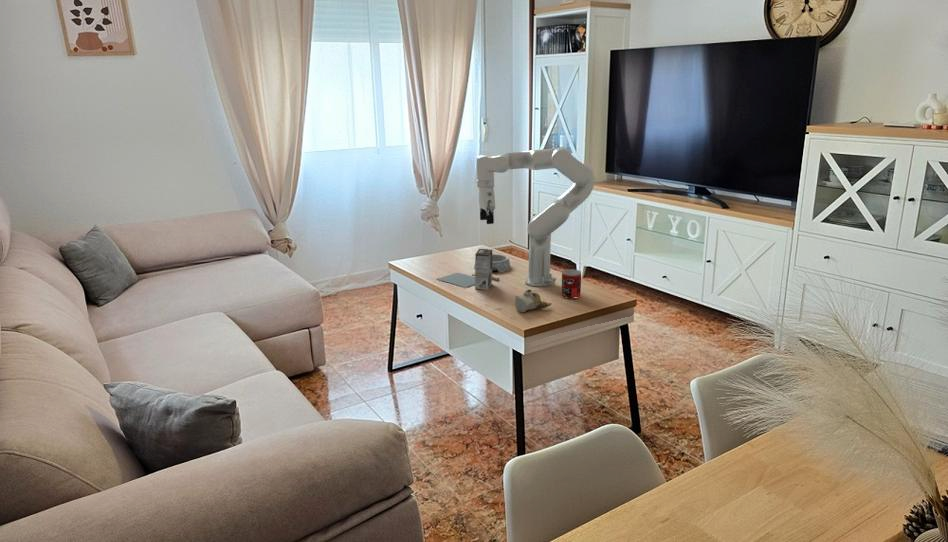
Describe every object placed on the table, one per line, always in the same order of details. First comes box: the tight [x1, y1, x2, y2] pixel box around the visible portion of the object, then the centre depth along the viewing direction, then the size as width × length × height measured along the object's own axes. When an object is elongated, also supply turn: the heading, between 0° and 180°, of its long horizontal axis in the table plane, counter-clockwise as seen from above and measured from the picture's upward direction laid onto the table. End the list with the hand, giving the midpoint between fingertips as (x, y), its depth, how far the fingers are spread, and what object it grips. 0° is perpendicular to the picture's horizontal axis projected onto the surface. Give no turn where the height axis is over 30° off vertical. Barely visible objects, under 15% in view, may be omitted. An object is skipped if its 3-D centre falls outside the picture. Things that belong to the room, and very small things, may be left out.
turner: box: [471, 272, 500, 282], centre depth 291 cm, size 15×4×1 cm, turn 46°
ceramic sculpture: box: [514, 289, 553, 313], centre depth 247 cm, size 11×9×15 cm
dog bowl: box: [473, 253, 512, 273], centre depth 306 cm, size 17×18×5 cm
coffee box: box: [474, 248, 493, 291], centre depth 275 cm, size 9×6×16 cm
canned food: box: [561, 268, 582, 298], centre depth 261 cm, size 8×8×11 cm
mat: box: [436, 272, 475, 289], centre depth 287 cm, size 19×14×1 cm
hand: (486, 221), depth 278 cm, fingers open, 9 cm apart
